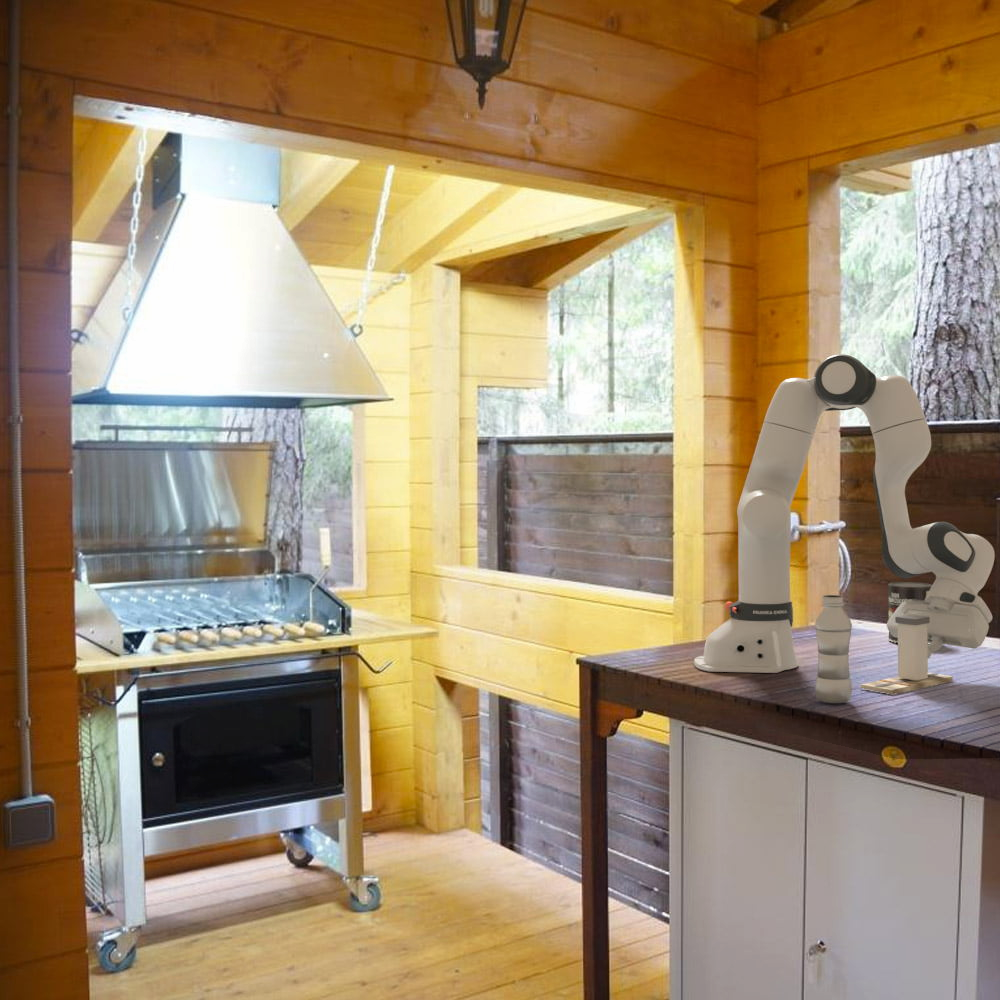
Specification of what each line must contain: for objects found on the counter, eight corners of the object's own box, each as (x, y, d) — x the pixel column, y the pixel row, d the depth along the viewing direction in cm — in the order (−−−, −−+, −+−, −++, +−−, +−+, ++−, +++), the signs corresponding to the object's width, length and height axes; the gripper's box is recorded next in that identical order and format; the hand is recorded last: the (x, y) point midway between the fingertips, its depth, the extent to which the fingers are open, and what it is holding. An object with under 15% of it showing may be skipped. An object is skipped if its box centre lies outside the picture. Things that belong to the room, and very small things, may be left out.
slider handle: (909, 674, 226) (909, 614, 226) (930, 677, 222) (929, 617, 222) (895, 677, 223) (895, 616, 223) (916, 680, 220) (915, 619, 219)
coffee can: (910, 646, 266) (910, 587, 265) (879, 640, 275) (878, 583, 274) (942, 642, 270) (942, 584, 269) (910, 637, 279) (910, 581, 279)
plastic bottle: (823, 697, 212) (822, 593, 212) (858, 702, 208) (857, 595, 207) (809, 703, 207) (808, 596, 207) (844, 708, 203) (843, 599, 202)
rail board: (922, 676, 230) (922, 670, 230) (952, 681, 225) (952, 675, 225) (860, 689, 219) (860, 683, 219) (891, 695, 213) (891, 689, 213)
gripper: (897, 589, 237) (869, 640, 231) (988, 598, 220) (959, 653, 215) (910, 608, 239) (882, 658, 234) (1000, 618, 223) (972, 673, 217)
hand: (920, 656), depth 224 cm, fingers closed, pressing on slider handle
